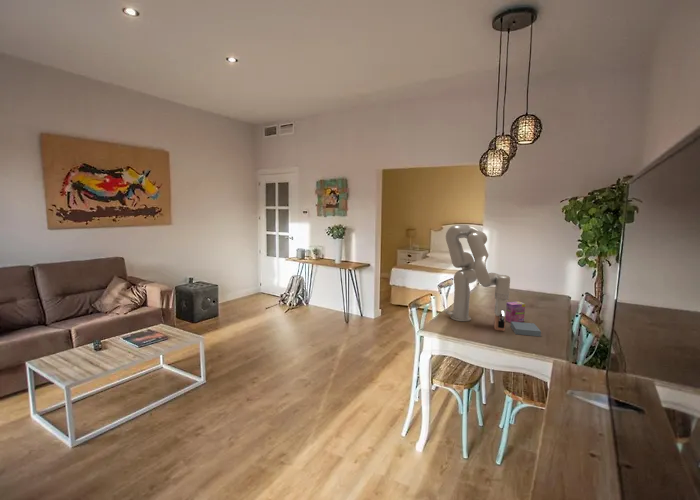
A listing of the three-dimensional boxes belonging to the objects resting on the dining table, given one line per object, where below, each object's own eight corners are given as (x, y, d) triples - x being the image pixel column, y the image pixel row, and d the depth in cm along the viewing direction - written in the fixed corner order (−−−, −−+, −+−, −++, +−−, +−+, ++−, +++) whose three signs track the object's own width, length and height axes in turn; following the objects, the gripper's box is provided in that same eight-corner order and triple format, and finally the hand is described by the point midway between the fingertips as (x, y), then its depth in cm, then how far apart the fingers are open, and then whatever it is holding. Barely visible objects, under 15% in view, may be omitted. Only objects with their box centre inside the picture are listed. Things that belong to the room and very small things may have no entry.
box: (510, 323, 225) (511, 304, 224) (504, 320, 231) (505, 302, 229) (524, 321, 228) (525, 303, 226) (517, 319, 233) (519, 301, 232)
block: (495, 329, 212) (496, 316, 211) (494, 327, 216) (495, 314, 215) (504, 330, 211) (505, 317, 210) (503, 328, 215) (504, 314, 214)
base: (515, 334, 205) (515, 329, 205) (510, 326, 219) (510, 321, 218) (540, 336, 202) (541, 331, 202) (533, 328, 216) (534, 323, 215)
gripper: (492, 292, 220) (490, 320, 222) (497, 299, 203) (495, 329, 206) (505, 293, 219) (503, 321, 221) (511, 300, 202) (509, 330, 204)
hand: (499, 325), depth 213 cm, fingers open, 8 cm apart
